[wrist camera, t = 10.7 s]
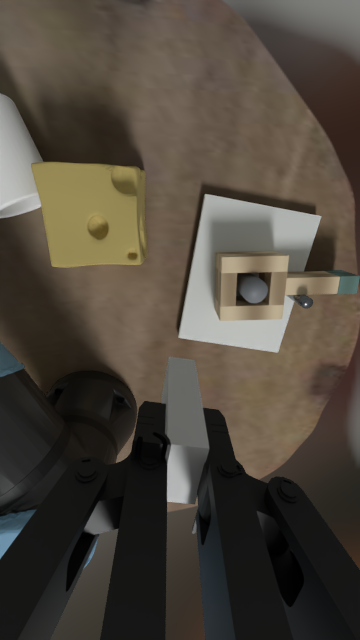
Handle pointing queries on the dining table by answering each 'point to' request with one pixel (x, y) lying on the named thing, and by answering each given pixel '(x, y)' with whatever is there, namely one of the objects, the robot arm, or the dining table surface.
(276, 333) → the base
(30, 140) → the mug
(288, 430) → the dining table surface
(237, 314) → the wooden frame with handle
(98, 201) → the cheese
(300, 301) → the dowel
